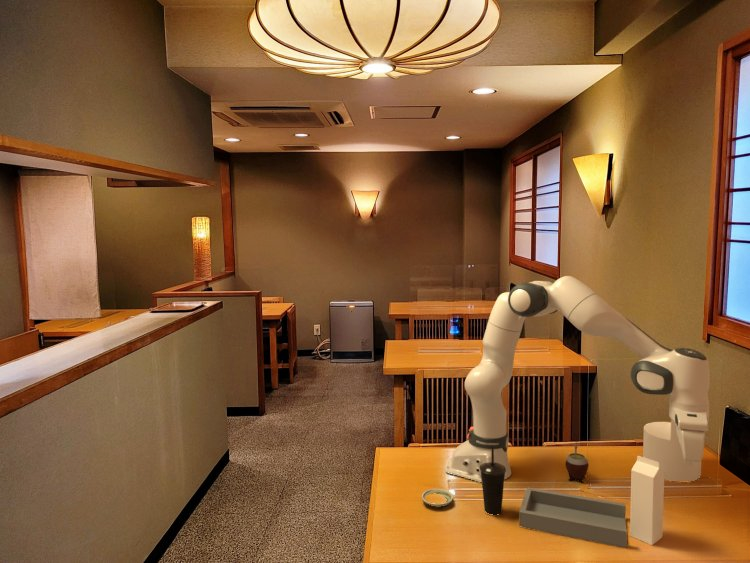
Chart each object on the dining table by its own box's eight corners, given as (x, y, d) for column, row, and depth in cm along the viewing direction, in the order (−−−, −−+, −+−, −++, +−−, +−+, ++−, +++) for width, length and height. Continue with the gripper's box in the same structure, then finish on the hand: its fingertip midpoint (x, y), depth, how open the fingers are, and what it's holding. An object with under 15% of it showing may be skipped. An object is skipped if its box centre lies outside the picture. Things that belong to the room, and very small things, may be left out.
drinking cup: (507, 506, 162) (507, 443, 159) (504, 520, 154) (504, 454, 152) (481, 503, 164) (481, 440, 162) (478, 516, 157) (477, 451, 155)
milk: (651, 546, 140) (654, 466, 138) (629, 535, 145) (631, 458, 143) (662, 537, 144) (665, 459, 141) (640, 527, 149) (642, 451, 146)
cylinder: (701, 465, 184) (704, 387, 181) (700, 487, 170) (703, 402, 166) (645, 455, 193) (647, 380, 190) (639, 475, 179) (641, 394, 176)
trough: (519, 526, 151) (519, 511, 150) (526, 501, 164) (526, 487, 164) (626, 548, 140) (626, 531, 139) (625, 518, 153) (625, 503, 153)
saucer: (456, 498, 168) (456, 491, 167) (447, 514, 159) (447, 506, 159) (427, 493, 172) (427, 486, 171) (417, 508, 163) (417, 500, 163)
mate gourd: (578, 472, 182) (578, 430, 180) (594, 483, 174) (595, 439, 173) (560, 476, 179) (560, 434, 178) (575, 487, 172) (576, 442, 170)
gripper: (670, 398, 148) (669, 446, 149) (679, 424, 129) (678, 478, 131) (696, 400, 145) (695, 449, 147) (709, 427, 127) (708, 482, 128)
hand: (687, 463), depth 138 cm, fingers closed
